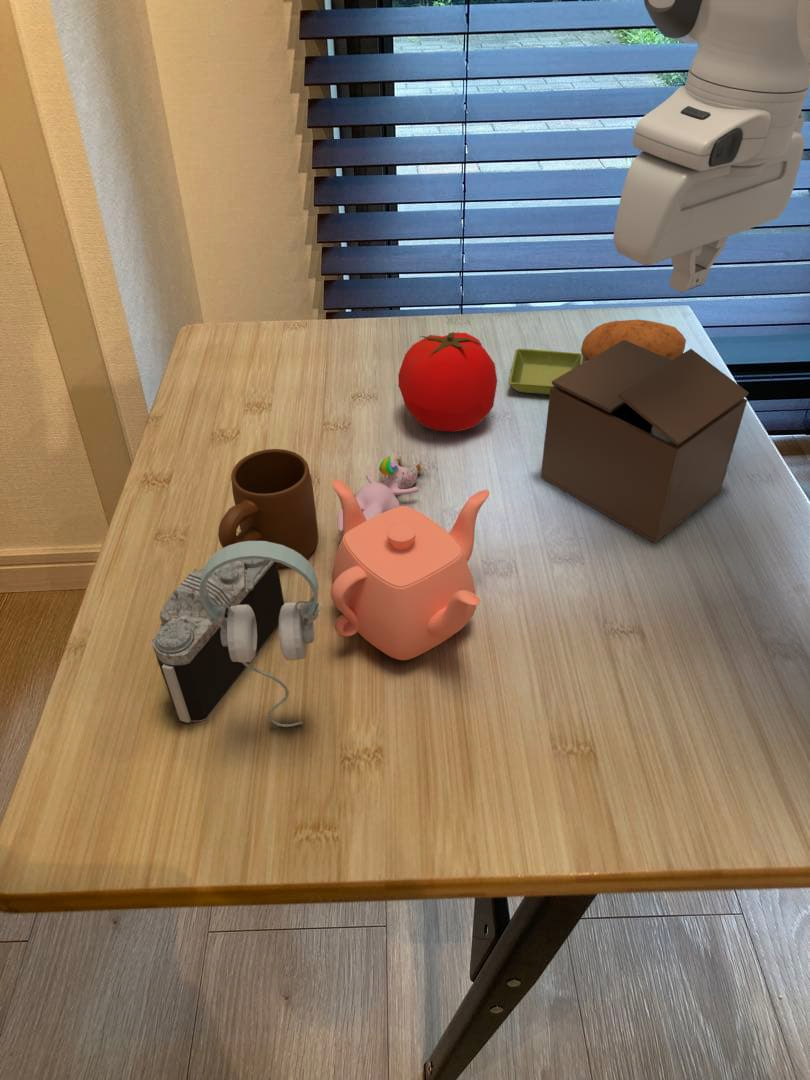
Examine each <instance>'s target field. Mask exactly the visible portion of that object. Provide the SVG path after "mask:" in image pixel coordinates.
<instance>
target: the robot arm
mask: <svg viewBox="0 0 810 1080" xmlns="http://www.w3.org/2000/svg"><path fill="white" fill-rule="evenodd" d="M643 3H644V7H645V9H646V11H647V13H648V15H649V17H650V19H651V21H652V23H653V25H654V26H655V27H656V29H657V30H658V32H660V34H662V36H663V37H664V38H668V39H672V40H674V41H675V42H676V41H677V42H679V43H684V44H692V45H693V44H694V45H697V50H696V53H695V55H694V57H693V59H692V62H691V63H690V66H689V69H688V72H687V76H686V81H685V85H681V86H680V87H678V88H677V89H676V90H675V91H674V92H673V94H671V95H670V96H669V97H668V98H667V99H666V100H664V101H663V102H662V103H660V104H659V105H658V106H657V107H655V108H654V109H652V110H651V111H650V112H648V113H646V114H645V115H644V116H642V117H641V118H640V119H639V120H638V122H637V124H636V126H635V128H634V133H633V138H632V145H633V147H634V148H635V149H637V150H639V151H641V152H640V153H639V154H638V155H637V156H636V157H634V159H633V161H632V163H631V164H630V166H629V169H628V171H627V173H626V177H625V180H624V183H623V187H622V192H621V195H620V200H619V204H618V207H617V208H618V209H617V214H616V218H615V224H614V230H613V243H614V246H615V249H616V251H617V253H618V254H620V255H621V256H624V257H626V258H627V259H630V260H632V261H634V262H636V263H639V264H641V265H643V266H652V265H654V264H657V263H660V262H663V261H665V260H668V259H671V264H672V272H671V276H670V279H669V287H670V288H671V289H673V290H675V291H677V292H678V293H679V292H680V293H685V292H689V291H690V290H692V289H695V288H698V287H700V286H703V285H705V284H706V282H707V279H708V276H709V272H710V269H711V267H712V266H713V264H714V263H715V262H716V260H717V259H718V257H719V256H720V255H721V253H722V252H723V250H724V248H725V247H726V245H727V242H728V238H729V237H731V236H734V235H737V234H740V233H742V232H745V231H748V230H750V229H753V228H755V227H758V226H761V225H763V224H767V223H769V222H773V221H775V220H777V219H779V218H780V217H781V215H782V214H783V212H784V211H785V209H786V208H787V207H788V205H789V203H790V200H791V197H792V194H793V191H794V187H795V184H796V180H797V177H798V174H799V169H800V167H801V162H802V158H803V154H804V149H805V138H804V136H803V135H802V134H801V132H802V129H803V126H804V122H805V119H804V117H803V113H802V110H803V106H804V103H805V100H806V98H807V95H808V92H809V89H810V0H643Z"/></svg>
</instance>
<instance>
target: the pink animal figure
mask: <svg viewBox="0 0 810 1080" xmlns="http://www.w3.org/2000/svg"><path fill="white" fill-rule="evenodd" d="M401 457H402V454H399V457H398V458H397V457H396V458H394V459H393V462H391V455H388V456H386V457H384V458H383V460H382V461H381V462H380V464H379V468H378V469H379V472H380V473H381V474H382V475H383V476H384V481H383V482H378V481H376V480H374V479H373V477H372V475H371V473H366V474H365V478H366V480H367V481H368V483H367V484H365V485H363V486H362V487H361V488H360V489H359V490H357V491H356V492H355V494H354V496H355V498H356V500H357V501H358V504H359V506H360V508H361V510H362V512H363V514H364V516H365V518H366V520H369V519H371V518H373V517H375V516H377V515H379V514H381V513H384V512H386V511H388V510H390V509H393V508H396V507H399V506H401V504H400V502H399V500H398V499H397V497H396V496H398V495H407V494H412V493H417V492H419V491H420V488H419V487H418V486H414V485H415V484H416V482H417V480H418V475H421V473H423V474H424V471H423V467H422V464H421V461H422V460H421V459H420V460H419V462H418V463H415V464H414V465H413V466H412V467H408V466H404V465H403V461H402V458H401ZM336 523H337V524H336V525H337V531H338V532H343V511H342V506H341V507H340V509H339V510H338V512H337V519H336Z"/></svg>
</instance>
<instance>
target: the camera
mask: <svg viewBox="0 0 810 1080" xmlns="http://www.w3.org/2000/svg"><path fill="white" fill-rule="evenodd" d="M203 570H204V568H200V569H197V568H194V569H193V570H192V571H191V572H190V573H189V574H188V575H187V576H186V577H185V578H184V579H183V581H181V583H180V584H178V586H177V587H176V588H175V589H174V590H173V591H172V593H171V594H170V595H169V596H168V597H167V599H166V601H165V603H164V604H163V605H162V607H161V608H162V609H161V611H160V613H159V618H160V622H161V623H160V626H159V629H158V631H157V632H156V635H155V636H154V637H153V638H152V640H151V645H152V647H153V651H154V654H155V657H156V660H157V662H158V666H159V668H160V671H161V675H162V677H163V681H164V683H165V686H166V689H167V692H168V695H169V698H170V701H171V704H172V707H173V710H174V712H175V713H176V714H177V717H178V719H179V721H181V722H182V723H183V722H184V723H191V722H203V721H206V720H207V719H208V718H209V717H210V715H211V714H212V713H213V712H214V711H215V709H216V707H217V706H218V705H219V704H220V702H221V701H222V700H223V699H224V697H225V696H226V695H227V693H228V692H229V691H230V690H231V689H232V687H233V686H234V684H235V683H236V682H237V681H238V679H239V678H240V677H241V675H242V674H243V673H244V672H245V670H246V669H247V668H248V667H246V666H245V665H244V664H243V663H242V662H233V661H232V660H231V658H230V654H229V649H228V646H223V645H222V643H221V633H220V631H221V627H220V626H218V625H214V624H213V623H212V622H210V619H209V618H208V617H207V616H206V615H205V611H204V610H205V608H204V606H203V604H202V602H201V600H200V595H199V588H200V583H201V578H202V573H203ZM207 591H208V594H209V596H210V598H211V599H212V600H213V601H214V603H215V604H216V605H220V604H225V605H228V606H229V607H231V606H237V605H249V606H250V607H251V608H252V610H253V612H254V615H255V619H256V624H257V648H256V654H255V656H254V658H253V660H254V659H255V658H256V656H257V655H258V654H259V652H260V651H261V650H262V648H263V647H264V645H266V643H267V642H268V641H269V639H270V637H271V636H272V635H273V634H274V632H275V631H276V630H277V629H278V628H279V615H280V610H281V607H282V606H283V605H284V604H285V600H284V595H283V588H282V584H281V577H280V571H279V567H278V565H277V562H274V561H270V560H266V559H243V560H238V561H234V562H231V563H227V564H225V565H223V566H222V567H220V568H218V569H217V570H215V571H214V572H213V574H212V575H211V576H210V577H209V578H208V581H207ZM221 607H222V606H221ZM223 607H225V606H223ZM225 608H226V610H225V615H224V618H227V619H228V612H229V609H228V608H227V607H225ZM209 615H210V614H209ZM210 616H211V615H210ZM222 623H223V622H221V624H222ZM246 663H247V664H248V665H250V663H251V662H246Z"/></svg>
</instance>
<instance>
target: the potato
mask: <svg viewBox="0 0 810 1080" xmlns="http://www.w3.org/2000/svg"><path fill="white" fill-rule="evenodd" d="M623 340H626V341H628V342H630V343H633V344H635V345H637V346H640V347H642V348H644V349H647V350H649V351H651V352H654V353H656V354H658V355H661V356H663V357H665V358H668V359H670V360H673V359H675V358H677V357H678V356H680V355H681V354H683V353H685V352H684V351H685V349H686V344H687V339H686V338H685V336H684V335H683V333H681V332H680V331H679V330H678V328H676V327H675V326H672V325H670V324H666V323H665V324H664V323H661V322H657V321H651V320H646V319H625V320H614V321H609V322H604V323H602V324H600V325H598V326H596V327H595V328H594V329H592V330H591V331H590V332H589V333H588V334H586V336H585V337H584V339H583V341H582V343H581V348H580V352H581V353H580V354H583V359H585V360H586V361H588V360H590V359H591V358H593V357H595V356H596V355H598V354H600V353H602V352H603V351H605V350H607V349H609V348H610V347H612V346H614V345H616V344H617V343H619V342H621V341H623Z"/></svg>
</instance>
